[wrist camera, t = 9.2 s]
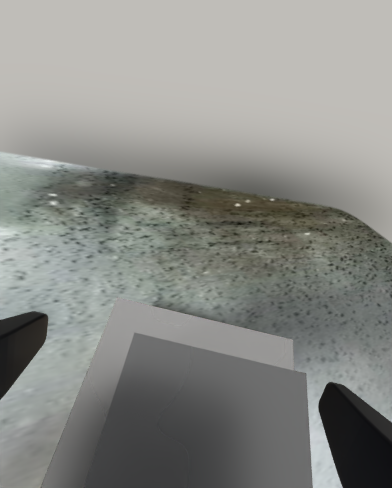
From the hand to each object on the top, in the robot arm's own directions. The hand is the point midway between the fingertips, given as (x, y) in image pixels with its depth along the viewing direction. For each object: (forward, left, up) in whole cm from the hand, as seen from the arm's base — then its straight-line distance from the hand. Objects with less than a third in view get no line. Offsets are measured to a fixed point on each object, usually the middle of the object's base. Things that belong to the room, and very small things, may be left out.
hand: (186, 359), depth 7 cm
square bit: (-1, +1, -9) cm, 9 cm away
